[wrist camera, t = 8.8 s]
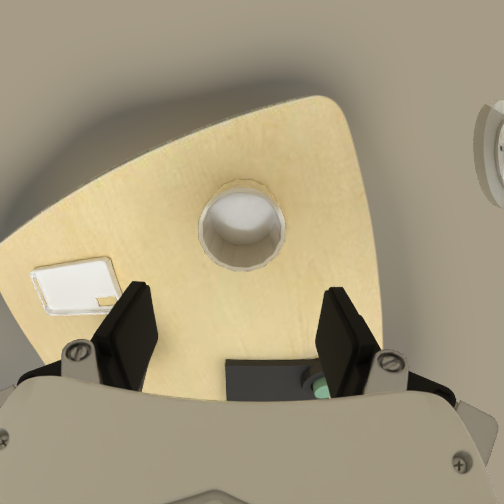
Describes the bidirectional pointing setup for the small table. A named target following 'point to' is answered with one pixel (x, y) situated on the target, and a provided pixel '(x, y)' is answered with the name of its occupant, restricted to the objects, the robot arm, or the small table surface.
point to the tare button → (321, 388)
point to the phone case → (76, 286)
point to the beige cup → (242, 226)
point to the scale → (272, 380)
